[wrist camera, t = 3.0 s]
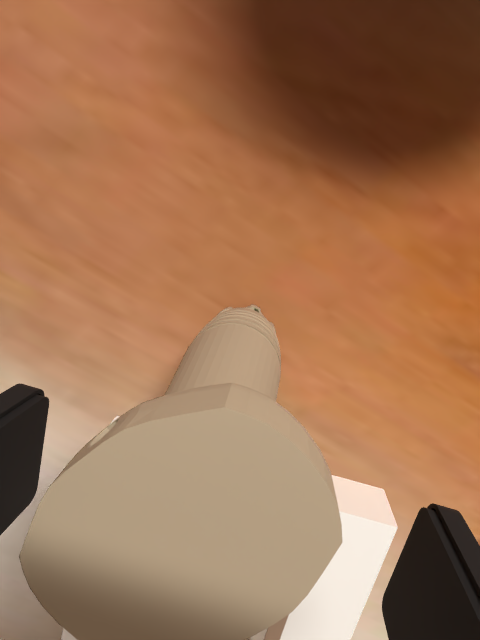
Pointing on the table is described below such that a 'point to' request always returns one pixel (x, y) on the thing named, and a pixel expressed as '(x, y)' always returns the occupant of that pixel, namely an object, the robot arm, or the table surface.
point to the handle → (190, 505)
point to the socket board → (340, 569)
